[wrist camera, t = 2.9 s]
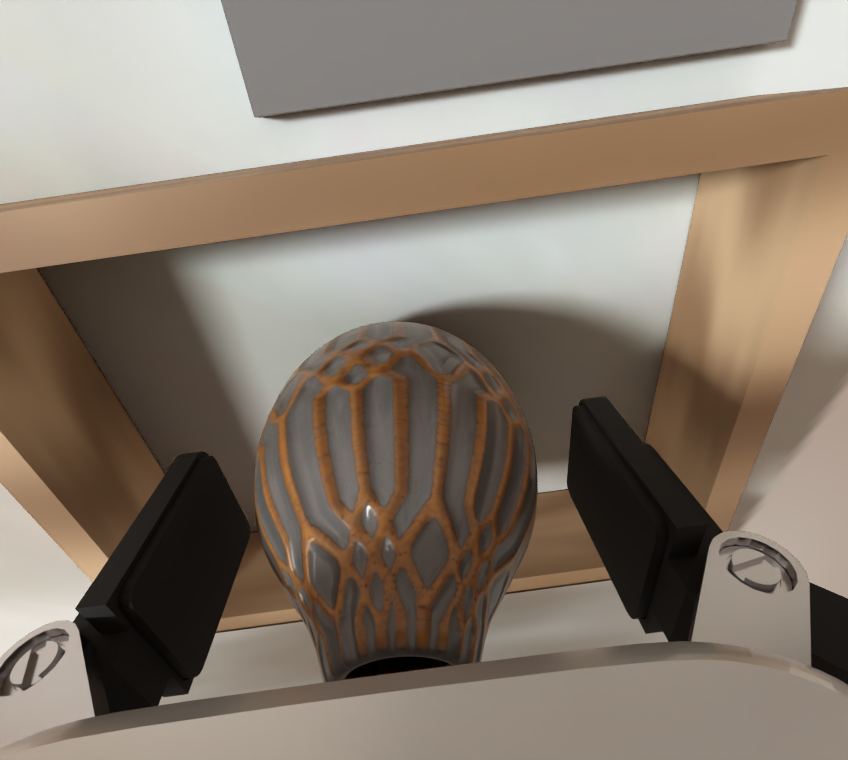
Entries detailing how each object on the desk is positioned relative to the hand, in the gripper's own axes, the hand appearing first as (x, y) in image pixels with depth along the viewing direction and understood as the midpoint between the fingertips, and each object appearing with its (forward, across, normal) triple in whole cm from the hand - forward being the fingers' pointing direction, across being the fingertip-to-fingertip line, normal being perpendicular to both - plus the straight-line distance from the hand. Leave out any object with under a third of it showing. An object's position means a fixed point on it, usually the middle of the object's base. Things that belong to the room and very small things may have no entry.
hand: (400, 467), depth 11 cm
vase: (+4, 0, 0) cm, 4 cm away
